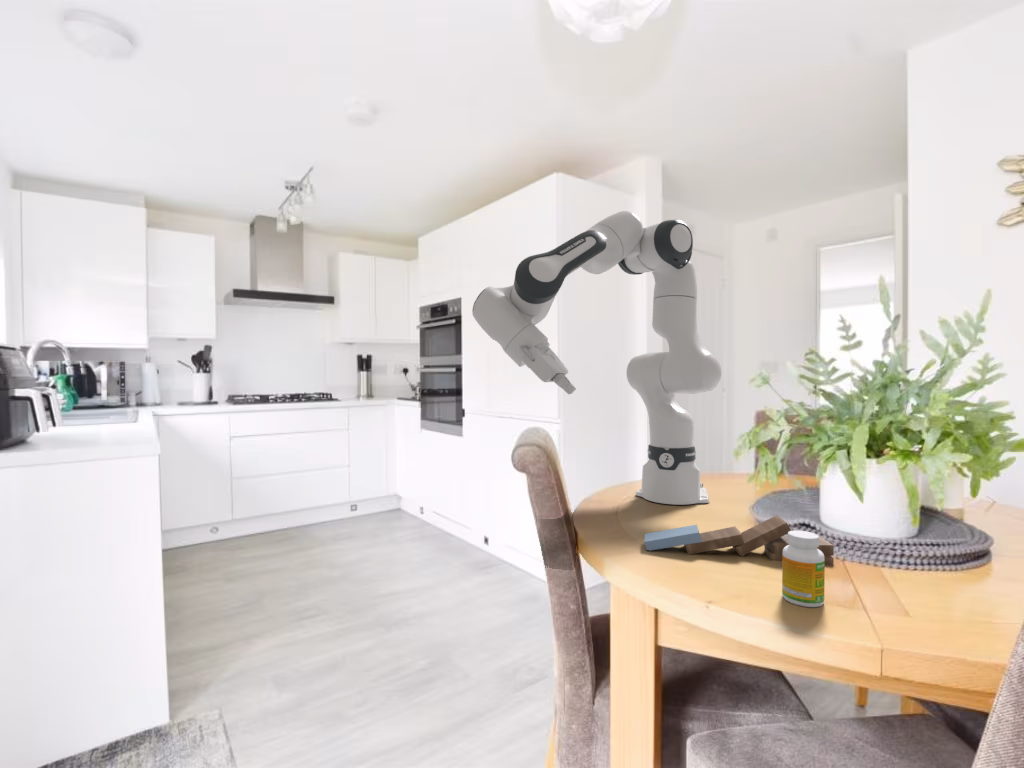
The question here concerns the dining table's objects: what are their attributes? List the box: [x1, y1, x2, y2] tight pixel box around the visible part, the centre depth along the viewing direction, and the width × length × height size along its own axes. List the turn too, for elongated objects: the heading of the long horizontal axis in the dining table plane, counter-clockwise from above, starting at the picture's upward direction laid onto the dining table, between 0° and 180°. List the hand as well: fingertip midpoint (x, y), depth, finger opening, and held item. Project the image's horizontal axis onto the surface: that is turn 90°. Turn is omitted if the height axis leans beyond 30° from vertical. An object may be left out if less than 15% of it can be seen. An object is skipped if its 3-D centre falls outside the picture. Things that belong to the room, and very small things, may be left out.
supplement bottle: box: [781, 529, 826, 608], centre depth 76 cm, size 5×5×10 cm
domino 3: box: [731, 514, 792, 557], centre depth 96 cm, size 2×5×10 cm
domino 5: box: [764, 546, 834, 566], centre depth 94 cm, size 2×5×10 cm
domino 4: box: [763, 535, 835, 556], centre depth 94 cm, size 2×5×10 cm
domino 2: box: [684, 525, 744, 555], centre depth 97 cm, size 2×5×10 cm
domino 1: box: [644, 524, 702, 552], centre depth 99 cm, size 2×5×10 cm
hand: (572, 392), depth 112 cm, fingers closed
